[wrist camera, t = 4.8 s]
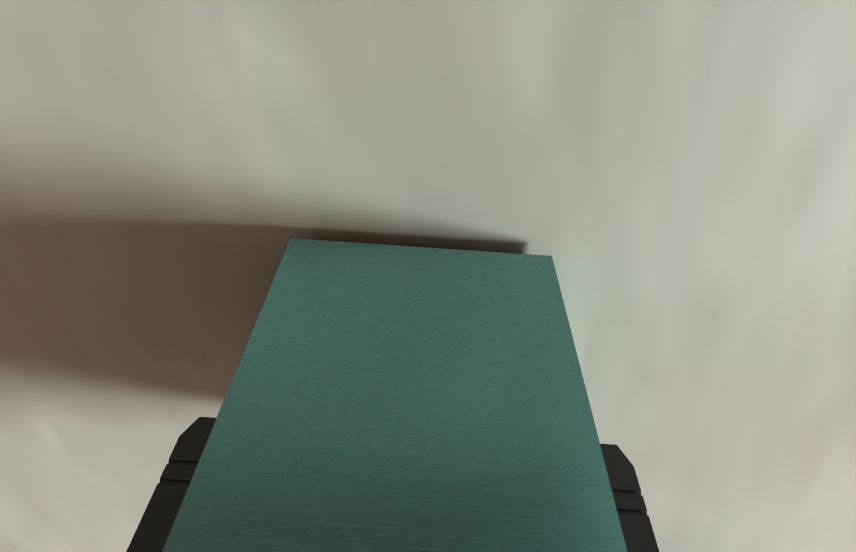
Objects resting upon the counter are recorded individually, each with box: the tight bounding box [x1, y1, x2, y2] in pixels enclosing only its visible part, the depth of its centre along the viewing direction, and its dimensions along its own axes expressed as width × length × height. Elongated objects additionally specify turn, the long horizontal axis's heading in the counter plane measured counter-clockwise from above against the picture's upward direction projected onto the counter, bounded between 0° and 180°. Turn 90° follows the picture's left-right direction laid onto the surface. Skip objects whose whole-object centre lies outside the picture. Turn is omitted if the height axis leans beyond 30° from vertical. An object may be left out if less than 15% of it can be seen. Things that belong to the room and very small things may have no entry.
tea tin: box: [162, 238, 627, 552], centre depth 11 cm, size 6×6×10 cm
